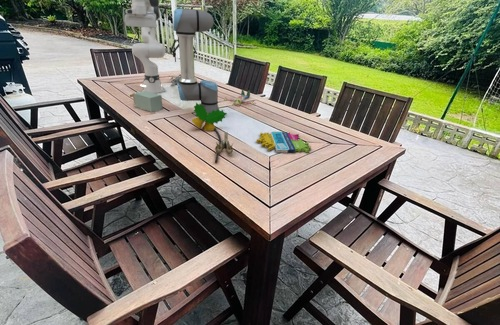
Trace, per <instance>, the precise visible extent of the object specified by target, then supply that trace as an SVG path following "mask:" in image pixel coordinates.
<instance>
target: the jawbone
mask: <svg viewBox="0 0 500 325" xmlns="http://www.w3.org/2000/svg"><path fill="white" fill-rule="evenodd" d="M223 135H224V136H223V140H222V139H221V144H220V145H219V143H218V142H215V144H216V146H215V148H214V149H215V152H214V154H215V155H217V153H219V154H218V156H219V155H220V153H221V152H223V151H224V150H226V152H227V153H228V155H229V156H233V155H234V154H233V153H234V148H233V144H234V143H230V140H228V139H229V138H228V137H229V136H228V135H229V133H228V131H226V132H224V134H223Z"/></svg>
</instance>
